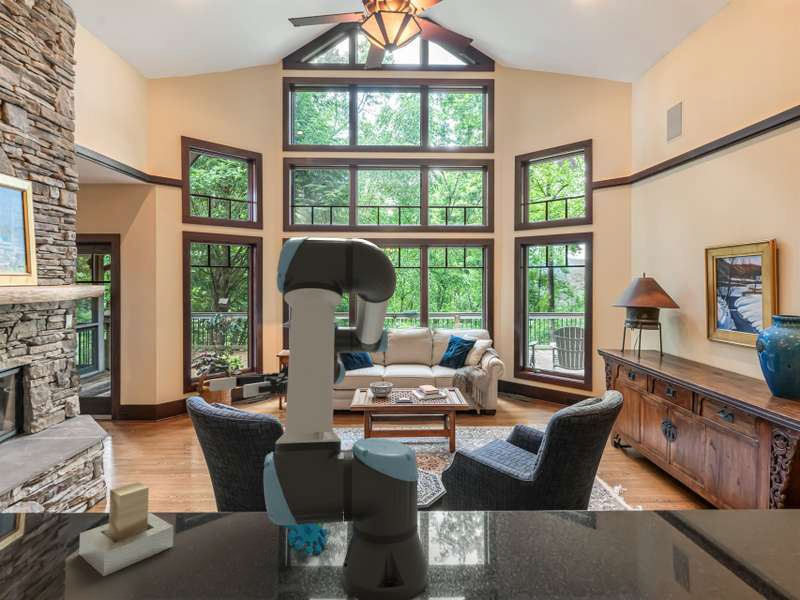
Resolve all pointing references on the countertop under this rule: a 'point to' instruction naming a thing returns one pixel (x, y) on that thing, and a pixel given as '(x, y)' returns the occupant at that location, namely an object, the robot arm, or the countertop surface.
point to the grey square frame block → (124, 545)
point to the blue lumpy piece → (307, 536)
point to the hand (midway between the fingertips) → (226, 388)
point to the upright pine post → (128, 511)
